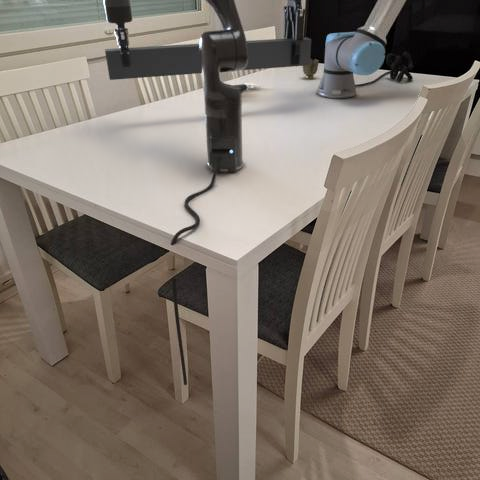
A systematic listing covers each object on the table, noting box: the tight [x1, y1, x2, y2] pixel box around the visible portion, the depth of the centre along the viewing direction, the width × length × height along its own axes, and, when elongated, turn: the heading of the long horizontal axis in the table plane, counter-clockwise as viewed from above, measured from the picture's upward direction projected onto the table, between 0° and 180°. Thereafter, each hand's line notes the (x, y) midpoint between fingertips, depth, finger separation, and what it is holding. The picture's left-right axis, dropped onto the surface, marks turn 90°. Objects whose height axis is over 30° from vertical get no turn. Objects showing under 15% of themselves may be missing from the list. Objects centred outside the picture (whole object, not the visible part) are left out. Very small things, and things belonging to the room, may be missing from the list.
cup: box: [302, 58, 320, 80], centre depth 204 cm, size 8×7×8 cm
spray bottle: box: [231, 82, 261, 94], centre depth 184 cm, size 3×11×25 cm
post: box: [104, 36, 312, 81], centre depth 146 cm, size 67×5×8 cm, turn 105°
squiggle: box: [385, 51, 414, 83], centre depth 198 cm, size 11×10×15 cm
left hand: (126, 64), depth 141 cm, fingers closed on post, 4 cm apart
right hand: (292, 62), depth 154 cm, fingers closed on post, 5 cm apart
